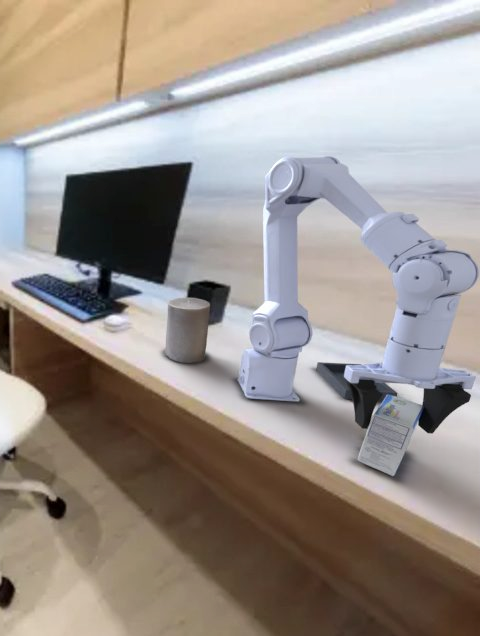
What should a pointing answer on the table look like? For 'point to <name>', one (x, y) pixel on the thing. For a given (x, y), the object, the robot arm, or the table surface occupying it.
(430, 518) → the table surface
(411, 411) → the medicine box
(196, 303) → the pillar candle
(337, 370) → the pad
